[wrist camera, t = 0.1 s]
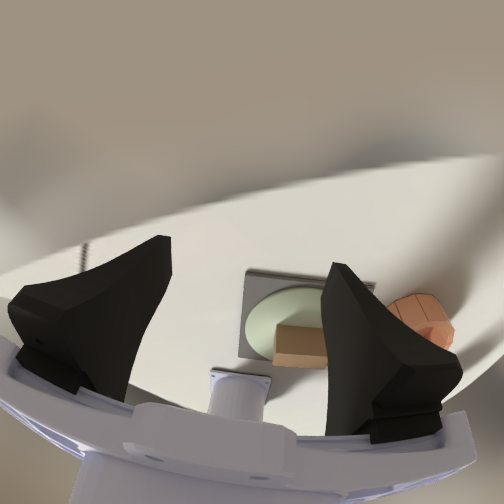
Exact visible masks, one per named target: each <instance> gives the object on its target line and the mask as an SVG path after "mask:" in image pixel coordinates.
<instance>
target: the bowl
mask: <svg viewBox="0 0 504 504" xmlns="http://www.w3.org/2000/svg"><path fill="white" fill-rule="evenodd" d="M387 309H388V310H389V311H390V312H392V313H393V314H394V315H395V316H396V317H397V318H398V319H400V320H401V321H402V322H403V323H405V324H406V325H407V326H409V327H410V328H411V329H413V330H414V331H415V332H417V333H418V334H420V335H421V336H423V337H424V338H426V339H428V340H429V341H431V342H432V343H434V344H436V345H438V346H440V347H442V348H444V349H446V350H448V348H449V347H450V346H451V344H452V343H453V337H454V328H453V326H452V324H451V322H450V320H449V318H448V316H447V315H446V313H445V311H444V309H443V307H442V306H441V304H440V303H439V302H438V301H437V300H436V299H435V298H434V297H433V295H425V294H413V295H410V296H408V297H405V298H403V299H400V300H397V301H395V302H393V303H392V304H391V305H390V306H388V307H387Z"/></svg>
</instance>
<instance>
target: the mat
mask: <svg viewBox="0 0 504 504" xmlns="http://www.w3.org/2000/svg"><path fill="white" fill-rule="evenodd" d="M325 283H326V281H320V280H311V279H302V278H293V277H284V276H275V275H267V274H259V273H250V272H246V273H245V281H244V292H243V304H242V315H241V327H240V339H239V351H238V357H240V358H248V359H257V360H266V361H272V360H269V359H267V358H265V357H263V356H261V355H260V354H259V353H257V352H256V351H255V350H254V349H253V348H252V347H251V346H250V344H249V342H248V340H247V338H246V334H245V325H246V320H247V317H248V314H249V312H250V311H251V309H252V308H253V307H254V306H255V305H256V304H257V303H258V302H259V301H260V300H262V299H263V298H265V297H266V296H268V295H270V294H272V293H275V292H277V291H280V290H284V289H289V288H295V287H312V288H318V289H322V290H323V289H324V286H325ZM365 286H366V287H367V288H368V289H369V290H370V291H371V292H372V293H373V290H374V288H373V286H369V285H365ZM326 365H328V362H327V364H326Z"/></svg>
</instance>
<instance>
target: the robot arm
mask: <svg viewBox="0 0 504 504" xmlns="http://www.w3.org/2000/svg"><path fill="white" fill-rule="evenodd" d="M171 276H172V258H171V237H169V236H163V235H157V236H155V237H153V238H151V239H149V240H147V241H145V242H144V243H142V244H140V245H138V246H137V247H135V248H133V249H131V250H130V251H128V252H126V253H124V254H122V255H120V256H118V257H116V258H115V259H113V260H111V261H109V262H107V263H105V264H102V265H100V266H98V267H95V268H93V269H91V270H88V271H85V272H82V273H79V274H76V275H73V276H70V277H67V278H63V279H59V280H55V281H51V282H46V283H40V284H33V285H25V286H24V287H23V288H22V289H21V290H20V291H19V293H18V294H17V295H16V296H15V297H14V298H13V299H12V301H11V302H10V303H9V304H8V314H9V318H10V319H11V322H12V324H13V326H14V327H15V329H16V331H17V333H18V334H19V336H20V338H21V340H22V341H23V343H24V345H23V347H22V348H21V349H20V348H19V347H18V346H17V345H16V344H15V343H13V342H11V341H10V340H8V339H7V338H5V337H3V336H0V406H1V407H2V408H3V409H5V410H6V411H7V412H8V413H10V414H11V415H12V416H14V417H15V418H16V419H18V420H19V421H20V422H22V423H23V424H25V425H26V426H27V427H29V428H30V429H32V430H33V431H34V432H36V433H37V434H39V435H40V436H42V437H44V438H45V439H47V440H48V441H50V442H51V443H53V444H55V445H56V446H58V447H60V448H61V449H63V450H65V451H66V452H68V453H70V454H72V455H74V456H76V457H77V458H79V459H81V460H83V462H82V465H81V467H80V470H79V473H78V476H77V479H76V482H75V485H74V488H73V491H72V495H71V497H70V501H69V504H350V503H356V502H362V501H368V500H372V499H377V498H381V497H386V496H389V495H394V494H398V493H401V492H405V491H408V490H412V489H415V488H418V487H421V486H424V485H428V484H431V483H434V482H436V481H439V480H441V479H443V478H445V477H447V476H449V475H451V474H453V473H455V472H457V471H459V470H461V469H463V468H465V467H467V466H468V465H470V464H471V463H474V462H475V461H477V459H478V457H477V452H476V448H475V445H474V440H473V436H472V433H471V429H470V425H469V422H468V418H467V415H466V412H465V411H460V412H456V413H452V414H448V415H445V416H443V417H441V418H440V415H439V411H441V410H442V404H441V401H442V400H443V399H444V398H445V397H446V396H447V395H448V394H449V393H450V392H451V391H452V390H453V389H454V388H455V387H456V386H457V385H458V383H459V382H460V380H461V378H462V376H463V370H462V368H461V365H460V363H459V360H458V358H457V356H456V354H454V353H452V352H450V351H448V350H446V349H444V348H442V347H440V346H438V345H436V344H434V343H432V342H431V341H429V340H428V339H426V338H424V337H423V336H421V335H420V334H418V333H417V332H415V331H414V330H413V329H411V328H410V327H409V326H407V325H406V324H405V323H403V322H402V321H401V320H400V319H398V318H397V317H396V316H395V315H394V314H393V313H392V312H390V311H389V310H388V309H387V308H386V307H385V306H384V305H383V304H382V303H381V302H380V301H379V300H378V299H377V298H376V297H375V296H374V295H373V294H372V292H371V291H370V290H369V289H368V288H367V287H366V286H365V285H364V284H363V282H362V281H361V280H360V279H359V278H358V277H357V276H356V275H355V273H354V272H353V271H352V270H351V269H350V268H349V267H348V266H347V265H346V264H341V263H335V262H333V263H332V266H331V269H330V272H329V275H328V278H327V281H326V283H325V286H324V289H323V292H322V295H321V297H320V298H321V320H322V326H323V332H324V339H325V345H326V351H327V359H328V409H327V422H326V431H325V436H297V434H296V433H294V432H293V431H292V430H290V429H288V428H286V427H284V426H282V425H276V424H271V423H266V422H263V410H264V404H265V401H266V398H267V394H268V391H269V387H270V384H271V378H270V377H264V376H255V375H246V374H238V373H231V372H224V371H218V370H210V373H209V375H210V390H211V398H210V403H209V408H208V412H207V414H206V413H201V412H196V411H192V410H187V409H183V408H178V407H174V406H170V405H165V404H158V403H153V402H149V403H143V404H139V405H136V406H135V407H134V406H131V405H128V404H125V403H124V399H125V394H126V390H127V386H128V382H129V378H130V374H131V371H132V367H133V364H134V361H135V358H136V354H137V351H138V349H139V346H140V343H141V340H142V337H143V335H144V333H145V330H146V328H147V326H148V324H149V322H150V320H151V319H152V317H153V315H154V313H155V311H156V309H157V307H158V305H159V304H160V302H161V300H162V298H163V296H164V294H165V292H166V290H167V287H168V284H169V282H170V279H171Z"/></svg>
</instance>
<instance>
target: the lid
mask: <svg viewBox="0 0 504 504" xmlns="http://www.w3.org/2000/svg"><path fill="white" fill-rule="evenodd" d="M322 292H323V290H322V289H318V288H312V287H295V288H289V289H284V290H280V291H277V292H275V293H272V294H270V295H268V296H266V297H265V298H263V299H262V300H260V301H259V302H258V303H257V304H256V305H255V306H254V307H253V308H252V309H251V311H250V312H249V314H248V317H247V320H246V325H245V334H246V338H247V340H248V342H249V344H250V346H251V347H252V348H253V349H254V350H255V351H256V352H257V353H259V354H260V355H261V356H263V357H265V358H267V359H269V360H272V361H273V365H272V366H283V367H296V368H313V369H325V366H326V364H327V362H328V359H327V351H326V345H325V339H324V332H323V326H322V320H321V298H320V297H321V295H322Z"/></svg>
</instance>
